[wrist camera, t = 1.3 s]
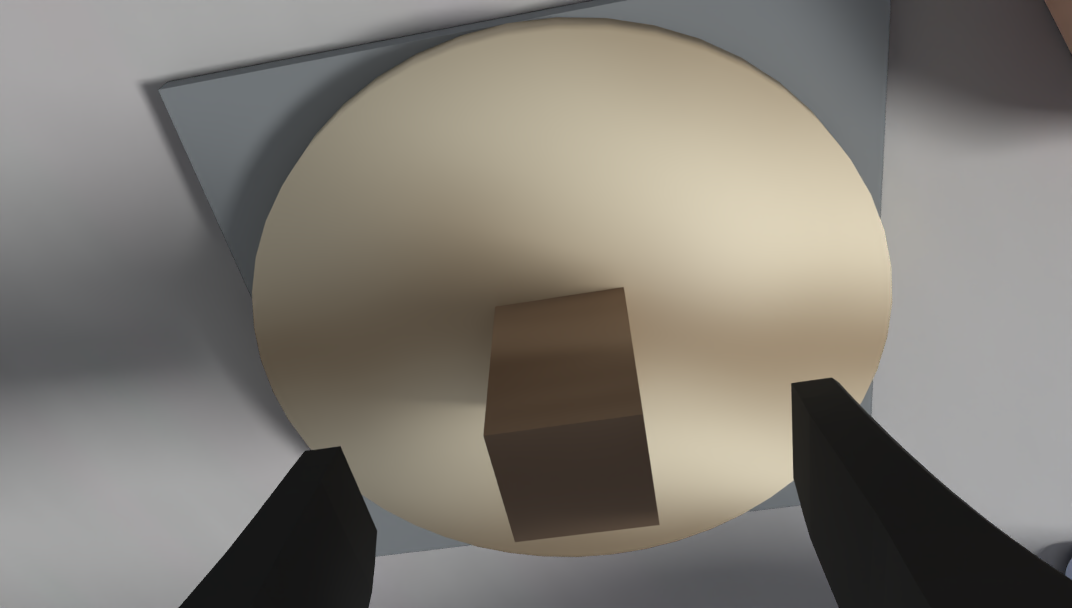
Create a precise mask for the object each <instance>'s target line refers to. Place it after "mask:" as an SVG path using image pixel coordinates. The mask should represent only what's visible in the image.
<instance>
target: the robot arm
mask: <svg viewBox="0 0 1072 608" xmlns="http://www.w3.org/2000/svg"><path fill="white" fill-rule="evenodd" d="M791 400H792V446H793V479H794V482H795V486H796V490H797V493H798V497H799V501H800V504H801V508H802V511H803V515H804V518H805V522H806V525H807V528H808V532H809V535H810V538H811V541H812V543H813V546H814V548H815V551H816V553H817V556H818V558H819V561H820V563H821V565H822V568H823V570H824V573H825V575H826V578H827V580H828V582H829V585H830V587H831V590H832V592H833V594H834V597H835V599H836V602H837V604H838V606H839V608H1072V558H1071V560H1070V562H1069V563H1068V565H1067V569H1066V573H1065V575H1064V574H1062V573H1061V572H1059V571H1058V570H1056V569H1055V568H1053V567H1052V566H1050V565H1049V564H1047V563H1046V562H1044V561H1043V560H1041V559H1040V558H1038V557H1037V556H1036V555H1034V554H1033V553H1031V552H1030V551H1029V550H1027V549H1026V548H1024V547H1023V546H1022V545H1020V544H1019V543H1017V542H1016V541H1014V540H1013V539H1012V538H1010V537H1009V536H1008V535H1006V534H1005V533H1004V532H1002V531H1001V530H1000V529H998V528H997V527H996V526H994V525H993V524H992V523H991V522H989V521H988V520H987V519H985V518H984V517H983V516H982V515H980V514H979V513H978V512H977V511H975V510H974V509H973V508H972V507H970V506H969V505H968V504H967V503H966V502H964V501H963V500H962V499H961V498H959V497H958V496H957V495H956V494H955V493H953V492H952V491H951V490H950V489H949V488H947V487H946V486H945V485H944V484H943V483H942V482H940V481H939V480H938V479H937V478H936V477H935V476H934V475H932V474H931V473H930V472H929V471H928V470H927V469H926V468H925V467H924V466H923V465H921V464H920V463H919V462H918V461H917V460H916V459H915V458H914V457H913V456H912V455H910V454H909V453H908V452H907V451H906V450H905V449H904V448H903V447H902V446H901V445H900V444H899V443H898V442H897V441H895V440H894V439H893V438H892V437H891V436H890V435H889V434H888V433H887V432H886V431H885V430H884V429H883V428H882V427H881V426H880V425H879V424H878V423H877V422H876V421H875V420H874V419H873V418H872V417H871V416H870V415H869V414H868V413H867V412H866V411H865V410H864V409H863V408H862V407H861V406H860V404H859V403H858V402H857V401H856V400H855V399H854V398H853V397H852V396H851V395H850V394H849V393H848V392H847V391H846V390H845V388H844V387H843V386H842V385H841V384H840V383H839V382H838V381H836V380H835V379H833V378H832V377H831V378H824V379H817V380H809V381H802V382H795V383H791ZM376 542H377V529H376V527H375V524H374V522H373V520H372V517H371V515H370V513H369V511H368V508H367V506H366V504H365V501H364V499H363V497H362V494H361V492H360V490H359V487H358V485H357V483H356V481H355V478H354V476H353V474H352V471H351V469H350V467H349V464H348V462H347V460H346V457H345V455H344V453H343V451H342V448H341V446H338V447H330V448H323V449H316V450H309V451H305V452H304V453H303V454H302V455H301V457H300V458H299V459H298V460H297V462H296V463H295V464H294V466H293V467H292V468H291V469H290V471H289V472H288V473H287V475H286V476H285V477H284V479H283V480H282V481H281V483H280V484H279V485H278V486H277V488H276V489H275V490H274V492H273V493H272V494H271V496H270V497H269V498H268V500H267V501H266V502H265V503H264V505H263V506H262V507H261V509H260V510H259V511H258V513H257V514H256V515H255V517H254V518H253V519H252V520H251V522H250V523H249V524H248V525H247V527H246V528H245V529H244V530H243V532H242V533H241V534H240V536H239V537H238V538H237V539H236V541H235V542H234V543H233V544H232V546H231V547H230V548H229V549H228V551H227V552H226V553H225V554H224V556H223V557H222V558H221V559H220V560H219V561H218V563H217V564H216V565H215V566H214V567H213V568H212V570H211V571H210V572H209V573H208V574H207V575H206V577H205V578H204V579H203V580H202V581H201V582H200V584H199V585H198V586H197V587H196V588H195V589H194V591H193V592H192V593H191V594H190V595H189V596H188V598H187V599H186V600H185V601H184V602H183V603H182V604H181V606H180V607H179V608H368V607H369V603H370V598H371V593H372V586H373V576H374V567H375V555H376Z"/></svg>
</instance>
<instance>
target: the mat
mask: <svg viewBox="0 0 1072 608" xmlns="http://www.w3.org/2000/svg"><path fill="white" fill-rule="evenodd" d="M890 8H891V0H593V1H588V2H583V3H577V4H572V5H567V6H562V7H557V8H551V9H546V10H541V11H536V12H531V13H525V14H520V15H515V16H510V17H504V18H499V19H494V20H489V21H484V22H478V23H473V24H468V25H463V26H458V27H452V28H447V29H442V30H437V31H432V32H426V33H421V34H416V35H411V36H406V37H400V38H395V39H390V40H385V41H379V42H374V43H369V44H364V45H359V46H353V47H348V48H343V49H338V50H333V51H327V52H322V53H317V54H312V55H307V56H301V57H296V58H291V59H286V60H281V61H275V62H270V63H265V64H260V65H255V66H249V67H244V68H239V69H234V70H228V71H223V72H218V73H213V74H208V75H202V76H197V77H192V78H187V79H182V80H176V81H171V82H167V83H166V84H165V85H163V86H162V87H161V88H160V89H159V90H158V91H159V93H160V96H161V98H162V100H163V102H164V104H165V107H166V109H167V111H168V113H169V116H170V118H171V120H172V122H173V124H174V127H175V129H176V131H177V133H178V135H179V138H180V140H181V142H182V144H183V147H184V149H185V151H186V153H187V155H188V158H189V160H190V162H191V164H192V167H193V169H194V171H195V173H196V175H197V178H198V180H199V182H200V184H201V187H202V189H203V191H204V193H205V195H206V198H207V200H208V202H209V204H210V206H211V209H212V211H213V213H214V215H215V218H216V220H217V222H218V224H219V226H220V229H221V231H222V233H223V235H224V238H225V240H226V242H227V244H228V246H229V249H230V251H231V253H232V255H233V258H234V260H235V262H236V264H237V266H238V269H239V271H240V273H241V275H242V278H243V280H244V282H245V284H246V286H247V289H248V291H249V293H250V295H251V297H252V288H253V278H254V269H255V259H256V254H257V251H258V247H259V243H260V240H261V236H262V233H263V229H264V225H265V222H266V219H267V217H268V215H269V213H270V211H271V209H272V206H273V204H274V202H275V200H276V198H277V196H278V193H279V191H280V189H281V187H282V185H283V183H284V182H285V180H286V179H287V177H288V175H289V174H290V172H291V171H292V169H293V167H294V166H295V164H296V163H297V161H298V160H299V158H300V157H301V156H302V154H303V153H304V151H305V150H306V148H307V147H308V145H309V144H310V142H311V141H312V139H313V138H314V136H315V135H316V134H317V132H318V131H319V130H320V129H321V128H322V127H323V126H324V125H325V124H326V123H327V122H328V121H329V119H330V118H331V117H332V116H333V115H334V114H335V113H336V112H337V111H338V110H339V109H340V108H341V106H342V105H343V104H344V103H346V102H347V101H348V100H349V99H351V98H352V97H353V96H354V95H356V94H357V93H358V92H359V91H361V90H362V89H363V88H364V87H366V86H367V85H368V84H369V83H371V82H372V81H373V80H374V79H375V78H377V77H378V76H380V75H381V74H383V73H385V72H387V71H388V70H390V69H392V68H393V67H395V66H397V65H398V64H400V63H402V62H403V61H405V60H407V59H409V58H410V57H412V56H414V55H415V54H417V53H419V52H422V51H424V50H427V49H429V48H432V47H434V46H436V45H439V44H441V43H444V42H446V41H448V40H451V39H453V38H456V37H458V36H461V35H464V34H468V33H472V32H476V31H480V30H483V29H487V28H491V27H495V26H499V25H503V24H506V23H513V22H521V21H530V20H538V19H546V18H554V17H574V18H609V19H616V20H623V21H629V22H636V23H643V24H649V25H655V26H658V27H662V28H665V29H669V30H672V31H675V32H679V33H682V34H686V35H689V36H692V37H696V38H699V39H702V40H704V41H706V42H708V43H710V44H712V45H715V46H717V47H719V48H721V49H723V50H726V51H728V52H730V53H732V54H734V55H737V56H739V57H741V58H743V59H744V60H746V61H747V62H749V63H751V64H752V65H754V66H755V67H757V68H758V69H760V70H761V71H763V72H764V73H766V74H768V75H769V76H771V77H772V78H774V79H775V80H777V81H778V82H780V83H781V84H782V85H783V86H784V87H785V88H787V89H788V90H789V91H790V92H791V93H792V94H793V95H794V96H796V97H797V98H798V99H799V100H800V101H801V102H802V103H803V104H805V105H806V106H807V107H808V108H809V109H810V110H811V111H812V112H813V113H814V114H815V116H816V117H817V118H818V119H819V121H820V122H821V123H822V124H823V125H824V127H825V128H826V129H827V130H828V131H829V133H830V134H831V135H832V136H833V138H834V139H835V140H836V141H837V142H838V144H839V145H840V146H841V148H842V149H843V150H844V152H845V153H846V154H847V155H848V157H849V158H850V159H851V161H852V163H853V164H854V166H855V168H856V170H857V171H858V173H859V175H860V176H861V178H862V180H863V182H864V183H865V185H866V187H867V189H868V190H869V192H870V194H871V196H872V199H873V201H874V204H875V207H876V209H877V212H878V215H879V217H880V220H881V200H882V179H883V157H884V136H885V114H886V93H887V72H888V50H889V29H890ZM872 392H873V380H872V382H871V384H870V386H869V388H868V390H867V392H866V394H865V397H864V399H863V401H862V402H861V404H860V406H861V407H862V408H863V409H864V410H865V411H866V412H867V413H868V414H869V415H870V416H871V413H872ZM362 497H363V499H364V501H365V504H366V506H367V508H368V511H369V513H370V515H371V517H372V520H373V522H374V524H375V527H376V529H377V542H376V555H375V557H376V556H385V555H393V554H401V553H409V552H418V551H426V550H434V549H443V548H451V547H459V546H467V545H471V544H467V543H464V542H460V541H457V540H454V539H450V538H447V537H444V536H441V535H439V534H436V533H434V532H431V531H429V530H426V529H424V528H421V527H418V526H416V525H414V524H412V523H410V522H408V521H406V520H404V519H402V518H400V517H398V516H396V515H394V514H392V513H390V512H388V511H386V510H384V509H383V508H381V507H380V506H378V505H377V504H375V503H374V502H372V501H371V500H369V499H368V498H366V497H365V496H363V495H362ZM798 505H801V504H800V501H799V497H798V493H797V490H796V486H795V482H794V481H792V482H791V483H790V484H788V485H787V486H785V487H784V488H783V489H781V490H780V491H779V492H777V493H776V494H775V495H773V496H772V497H771V498H769V499H767V500H766V501H764V502H762V503H761V504H759V505H757V506H755V507H754V508H752V509H750V510H749V511H757V510H765V509H774V508H782V507H790V506H798ZM749 511H747V512H749Z"/></svg>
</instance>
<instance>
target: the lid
mask: <svg viewBox="0 0 1072 608" xmlns="http://www.w3.org/2000/svg"><path fill="white" fill-rule="evenodd" d="M252 303H253V320H254V330H255V335H256V339H257V344H258V348H259V353H260V358H261V361H262V364H263V367H264V369H265V372H266V375H267V377H268V380H269V382H270V385H271V388H272V390H273V392H274V394H275V396H276V398H277V400H278V401H279V403H280V405H281V407H282V409H283V411H284V412H285V414H286V416H287V418H288V420H289V421H290V422H291V424H292V425H293V426H294V428H295V429H296V430H297V432H298V433H299V435H300V436H301V437H302V439H303V440H304V441H305V443H306V444H307V445H308V447H309V448H310V449H311V450H316V449H323V448H330V447H338V446H341V448H342V451H343V453H344V455H345V457H346V460H347V462H348V464H349V467H350V469H351V471H352V474H353V476H354V478H355V481H356V483H357V485H358V487H359V490H360V492H361V494H362V495H363V496H365V497H366V498H368V499H369V500H371V501H372V502H374V503H375V504H377V505H378V506H380V507H381V508H383V509H384V510H386V511H388V512H390V513H392V514H394V515H396V516H398V517H400V518H402V519H404V520H406V521H408V522H410V523H412V524H414V525H416V526H418V527H421V528H424V529H426V530H429V531H431V532H434V533H436V534H439V535H441V536H444V537H447V538H450V539H454V540H457V541H460V542H464V543H467V544H471V545H474V546H478V547H483V548H488V549H493V550H498V551H504V552H509V553H517V554H527V555H536V556H558V557H582V556H596V555H610V554H617V553H623V552H630V551H636V550H642V549H647V548H651V547H655V546H659V545H663V544H667V543H671V542H675V541H679V540H681V539H684V538H687V537H690V536H693V535H696V534H698V533H701V532H704V531H707V530H710V529H712V528H714V527H716V526H718V525H721V524H723V523H725V522H727V521H729V520H731V519H734V518H736V517H738V516H740V515H742V514H744V513H745V512H747V511H749V510H750V509H752V508H754V507H755V506H757V505H759V504H761V503H762V502H764V501H766V500H767V499H769V498H771V497H772V496H773V495H775V494H776V493H777V492H779V491H780V490H781V489H783V488H784V487H785V486H787V485H788V484H790V483H791V482H792V481H794V479H793V446H792V400H791V383H795V382H802V381H809V380H817V379H824V378H831V377H832V378H833V379H835V380H836V381H838V382H839V383H840V384H841V385H842V386H843V387H844V388H845V390H846V391H847V392H848V393H849V394H850V395H851V396H852V397H853V398H854V399H855V400H856V401H857V402H858V403H859V404H861V402H862V401H863V399H864V397H865V394H866V392H867V390H868V388H869V386H870V384H871V382H872V380H873V377H874V375H875V373H876V371H877V369H878V365H879V362H880V359H881V355H882V352H883V349H884V345H885V342H886V339H887V334H888V327H889V320H890V313H891V306H892V278H891V263H890V257H889V252H888V247H887V242H886V236H885V231H884V228H883V225H882V223H881V220H880V217H879V215H878V212H877V209H876V207H875V204H874V201H873V199H872V196H871V194H870V192H869V190H868V189H867V187H866V185H865V183H864V182H863V180H862V178H861V176H860V175H859V173H858V171H857V170H856V168H855V166H854V164H853V163H852V161H851V159H850V158H849V157H848V155H847V154H846V153H845V152H844V150H843V149H842V148H841V146H840V145H839V144H838V142H837V141H836V140H835V139H834V138H833V136H832V135H831V134H830V133H829V131H828V130H827V129H826V128H825V127H824V125H823V124H822V123H821V122H820V121H819V119H818V118H817V117H816V116H815V114H814V113H813V112H812V111H811V110H810V109H809V108H808V107H807V106H806V105H805V104H803V103H802V102H801V101H800V100H799V99H798V98H797V97H796V96H794V95H793V94H792V93H791V92H790V91H789V90H788V89H787V88H785V87H784V86H783V85H782V84H781V83H780V82H778V81H777V80H775V79H774V78H772V77H771V76H769V75H768V74H766V73H764V72H763V71H761V70H760V69H758V68H757V67H755V66H754V65H752V64H751V63H749V62H747V61H746V60H744V59H743V58H741V57H739V56H737V55H734V54H732V53H730V52H728V51H726V50H723V49H721V48H719V47H717V46H715V45H712V44H710V43H708V42H706V41H704V40H702V39H699V38H696V37H692V36H689V35H686V34H682V33H679V32H675V31H672V30H669V29H665V28H662V27H658V26H655V25H649V24H643V23H636V22H629V21H623V20H616V19H609V18H574V17H554V18H546V19H538V20H530V21H521V22H513V23H506V24H503V25H499V26H495V27H491V28H487V29H483V30H480V31H476V32H472V33H468V34H464V35H461V36H458V37H456V38H453V39H451V40H448V41H446V42H444V43H441V44H439V45H436V46H434V47H432V48H429V49H427V50H424V51H422V52H419V53H417V54H415V55H414V56H412V57H410V58H409V59H407V60H405V61H403V62H402V63H400V64H398V65H397V66H395V67H393V68H392V69H390V70H388V71H387V72H385V73H383V74H381V75H380V76H378V77H377V78H375V79H374V80H373V81H372V82H371V83H369V84H368V85H367V86H366V87H364V88H363V89H362V90H361V91H359V92H358V93H357V94H356V95H354V96H353V97H352V98H351V99H349V100H348V101H347V102H346V103H344V104H343V105H342V106H341V108H340V109H339V110H338V111H337V112H336V113H335V114H334V115H333V116H332V117H331V118H330V119H329V121H328V122H327V123H326V124H325V125H324V126H323V127H322V128H321V129H320V130H319V131H318V132H317V134H316V135H315V136H314V138H313V139H312V141H311V142H310V144H309V145H308V147H307V148H306V150H305V151H304V153H303V154H302V156H301V157H300V158H299V160H298V161H297V163H296V164H295V166H294V167H293V169H292V171H291V172H290V174H289V175H288V177H287V179H286V180H285V182H284V183H283V185H282V187H281V189H280V191H279V193H278V196H277V198H276V200H275V202H274V204H273V206H272V209H271V211H270V213H269V215H268V217H267V219H266V222H265V225H264V229H263V233H262V236H261V240H260V243H259V247H258V251H257V254H256V259H255V269H254V278H253V288H252Z"/></svg>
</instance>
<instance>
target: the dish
mask: <svg viewBox="0 0 1072 608" xmlns="http://www.w3.org/2000/svg"><path fill="white" fill-rule="evenodd" d="M1045 2H1046V4H1047V6H1048V8H1049V10H1050V12H1051V14H1052V16H1053V18H1054V20H1055V22H1056V24H1057V26H1058V28H1059V30H1060V32H1061V34H1062V36H1063V38H1064V40H1065V42H1066V44H1067V46H1068V48H1069V50H1070V52H1071V54H1072V0H1045Z"/></svg>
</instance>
